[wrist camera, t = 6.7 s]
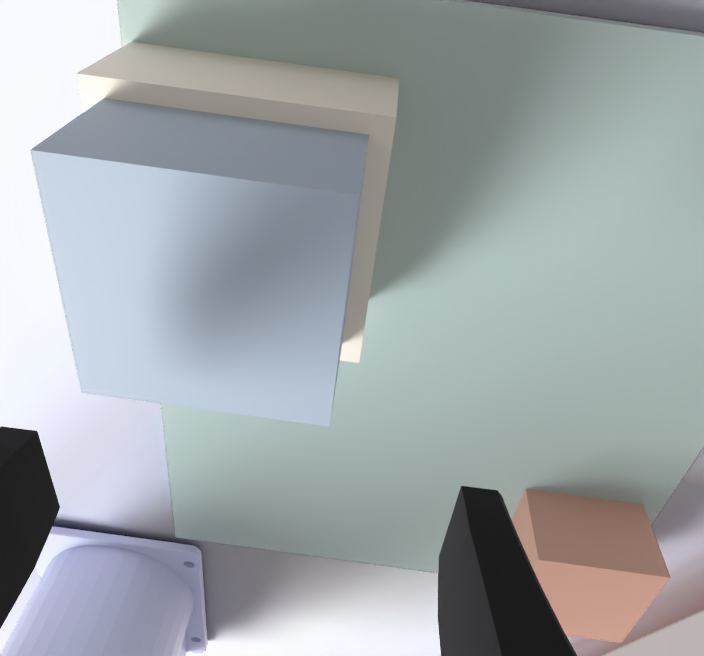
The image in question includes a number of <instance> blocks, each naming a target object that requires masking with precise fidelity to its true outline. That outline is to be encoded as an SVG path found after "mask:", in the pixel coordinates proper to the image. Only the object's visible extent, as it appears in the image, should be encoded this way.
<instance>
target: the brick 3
mask: <svg viewBox="0 0 704 656" xmlns="http://www.w3.org/2000/svg"><path fill="white" fill-rule="evenodd" d="M512 522H513V525H514V527H515V530H516V532H517V534H518V537H519V539H520V541H521V543H522V546H523V548H524V550H525V552H526V555H527V557H528V559H529V561H530V563H531V566H532V568H533V570H534V572H535V574H536V576H537V579H538V581H539V583H540V585H541V587H542V589H543V591H544V593H545V595H546V597H547V599H548V601H549V603H550V605H551V607H552V609H553V611H554V613H555V615H556V617H557V619H558V621H559V623H560V625H561V627H562V629H563V631H564V633H565V634H566V635H567V636H575V637H582V638H589V639H597V640H604V641H611V642H619V643H621V642H622V641H623V640H624V638H625V637H626V636H627V634H628V633H629V632H630V630H631V629H632V628H633V626H634V625H635V624H636V623H637V621H638V620H639V619H640V617H641V616H642V615H643V613H644V612H645V611H646V609H647V608H648V607H649V605H650V604H651V603H652V601H653V600H654V599H655V598H656V596H657V595H658V594H659V592H660V591H661V590H662V588H663V587H664V586H665V584H666V583H667V582H668V580H669V579H670V575H669V572H668V570H667V567H666V564H665V562H664V559H663V556H662V553H661V551H660V548H659V545H658V543H657V540H656V537H655V535H654V532H653V529H652V526H651V524H650V521H649V518H648V516H647V513H646V510H645V507H644V505H641V504H634V503H627V502H619V501H612V500H605V499H597V498H590V497H583V496H575V495H568V494H561V493H553V492H546V491H539V490H531V489H525V491H524V493H523V496H522V498H521V500H520V502H519V505H518V507H517V509H516V512H515V514H514V516H513V519H512Z"/></svg>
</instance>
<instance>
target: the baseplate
mask: <svg viewBox="0 0 704 656" xmlns="http://www.w3.org/2000/svg"><path fill="white" fill-rule="evenodd" d="M117 6H118V15H119V24H120V33H121V42H122V47H124V46H125V45H127V44H129V43H130V42H138V43H145V44H152V45H160V46H167V47H174V48H182V49H189V50H196V51H204V52H211V53H218V54H225V55H233V56H240V57H247V58H255V59H262V60H269V61H277V62H284V63H291V64H299V65H306V66H313V67H320V68H328V69H335V70H342V71H350V72H357V73H364V74H372V75H379V76H386V77H394V78H399V89H398V103H397V117H396V124H395V131H394V137H393V144H392V150H391V157H390V163H389V170H388V177H387V183H386V190H385V196H384V203H383V209H382V216H381V223H380V229H379V236H378V242H377V249H376V255H375V262H374V269H373V275H372V282H371V288H370V295H369V301H368V308H367V315H366V321H365V328H364V334H363V341H362V347H361V354H360V361H359V363H355V362H348V361H341V360H340V362H339V369H338V375H337V382H336V388H335V395H334V401H333V408H332V414H331V421H330V427H327V426H319V425H312V424H305V423H298V422H290V421H283V420H276V419H269V418H261V417H254V416H247V415H239V414H232V413H225V412H218V411H210V410H203V409H196V408H189V407H181V406H174V405H167V404H161V410H162V419H163V428H164V438H165V447H166V456H167V465H168V474H169V484H170V493H171V502H172V511H173V520H174V530H175V537H176V538H183V539H191V540H198V541H206V542H213V543H220V544H228V545H235V546H242V547H250V548H257V549H264V550H272V551H279V552H286V553H294V554H301V555H308V556H316V557H323V558H330V559H338V560H345V561H352V562H360V563H367V564H374V565H382V566H389V567H396V568H404V569H411V570H418V571H426V572H433V573H439V554H440V551H441V548H442V545H443V542H444V538H445V535H446V532H447V529H448V526H449V523H450V519H451V516H452V513H453V510H454V507H455V504H456V501H457V497H458V494H459V491H460V488H461V486H468V487H475V488H483V489H491V490H498V492H499V493H500V494H501V495H502V497H503V500H504V502H505V505H506V507H507V510H508V512H509V515H510V517H511V520H512V519H513V516H514V514H515V512H516V509H517V507H518V505H519V502H520V500H521V498H522V496H523V493H524V491H525V489H531V490H539V491H546V492H553V493H561V494H568V495H575V496H583V497H590V498H597V499H605V500H612V501H619V502H627V503H634V504H641V505H644V507H645V510H646V513H647V516H648V518H649V521H650V524H651V525H652V524H653V522H654V521H655V519H656V518H657V516H658V515H659V513H660V512H661V510H662V509H663V507H664V506H665V504H666V503H667V501H668V500H669V498H670V497H671V495H672V494H673V492H674V491H675V489H676V488H677V486H678V485H679V483H680V482H681V480H682V479H683V477H684V475H685V474H686V472H687V471H688V469H689V468H690V466H691V465H692V463H693V462H694V460H695V459H696V457H697V456H698V454H699V453H700V451H701V450H702V448H703V447H704V33H702V32H695V31H687V30H680V29H673V28H665V27H658V26H651V25H643V24H636V23H629V22H621V21H614V20H607V19H599V18H592V17H585V16H577V15H570V14H563V13H555V12H548V11H541V10H533V9H526V8H518V7H511V6H504V5H496V4H489V3H482V2H474V1H467V0H117Z"/></svg>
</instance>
